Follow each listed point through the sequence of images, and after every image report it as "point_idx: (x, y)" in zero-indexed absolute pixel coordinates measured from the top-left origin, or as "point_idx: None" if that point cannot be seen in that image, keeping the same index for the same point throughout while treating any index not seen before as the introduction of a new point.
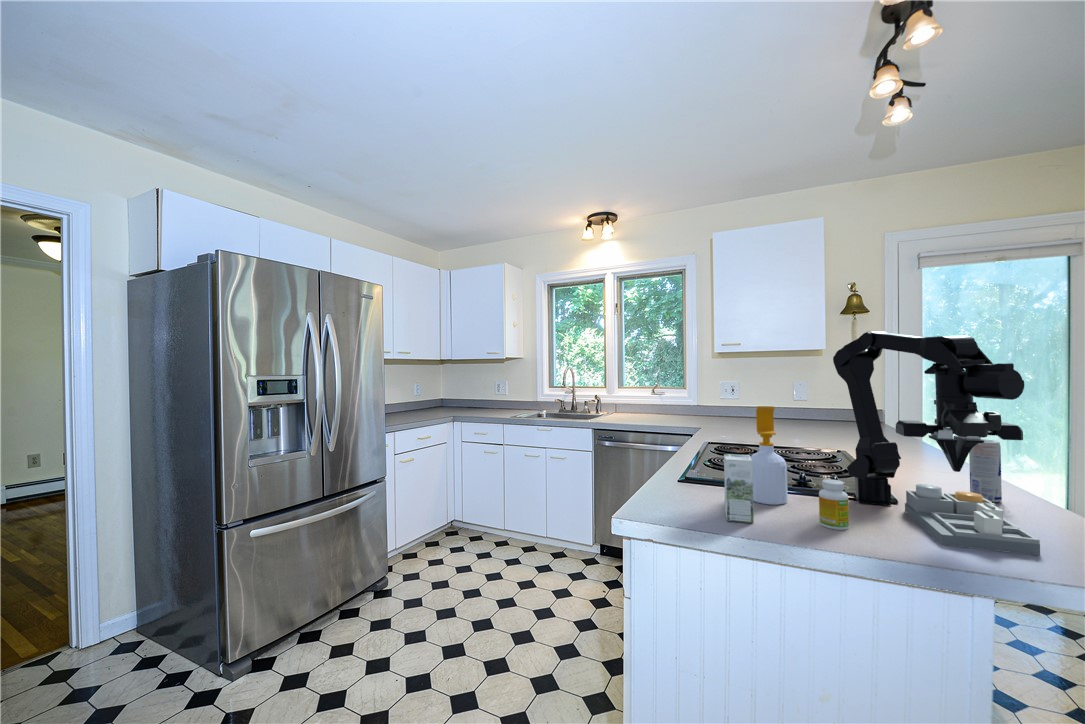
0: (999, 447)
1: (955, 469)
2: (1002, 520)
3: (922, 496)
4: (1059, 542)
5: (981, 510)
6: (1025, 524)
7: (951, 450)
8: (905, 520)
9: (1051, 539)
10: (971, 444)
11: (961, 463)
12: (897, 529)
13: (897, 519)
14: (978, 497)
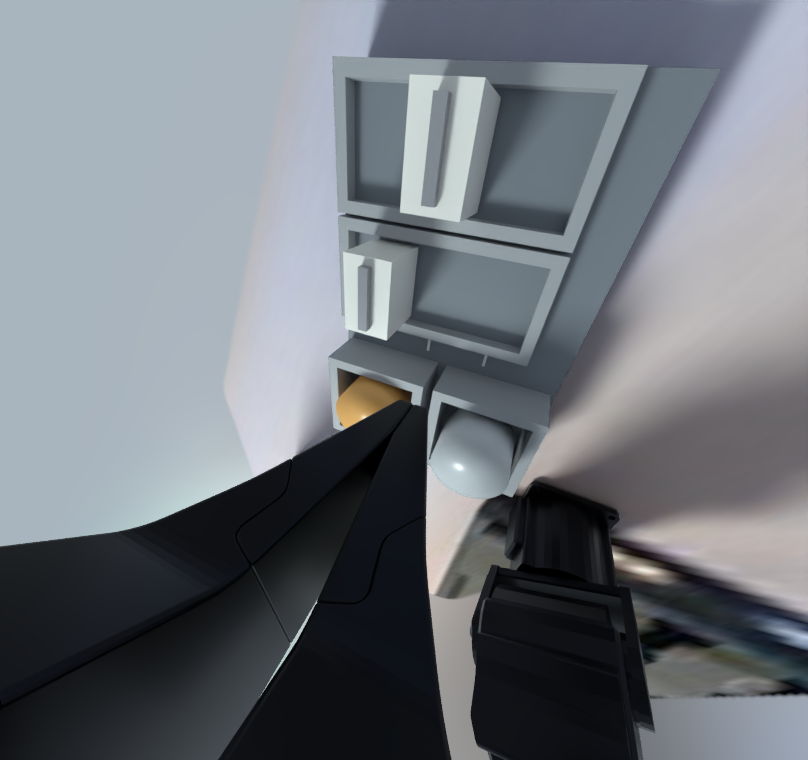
0: None
1: (422, 413)
2: (365, 244)
3: (508, 439)
4: (279, 237)
5: (433, 207)
6: (300, 355)
7: (384, 586)
8: (589, 381)
9: (287, 258)
10: (57, 580)
11: (364, 432)
12: (735, 285)
13: (613, 390)
14: (353, 390)
